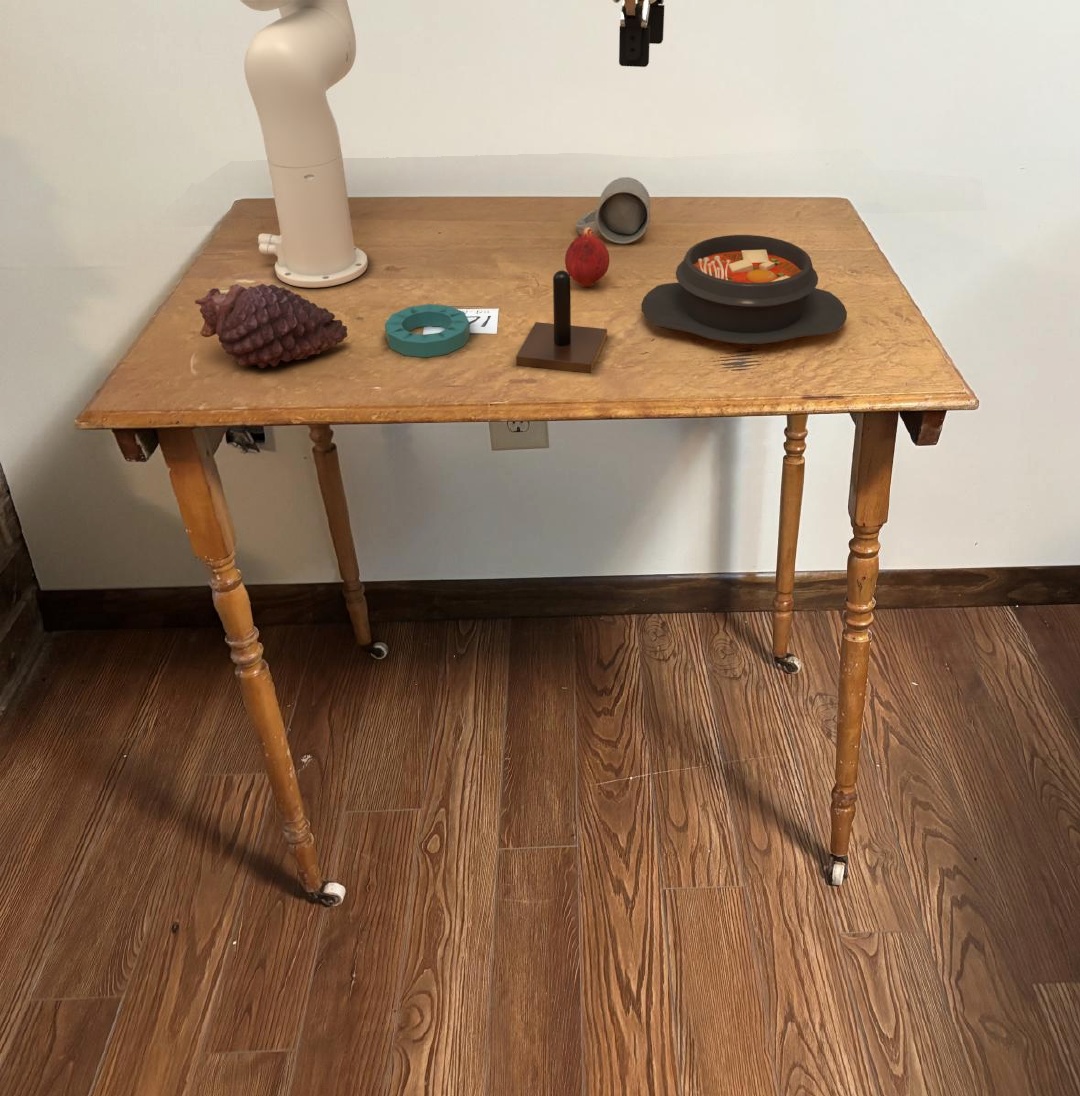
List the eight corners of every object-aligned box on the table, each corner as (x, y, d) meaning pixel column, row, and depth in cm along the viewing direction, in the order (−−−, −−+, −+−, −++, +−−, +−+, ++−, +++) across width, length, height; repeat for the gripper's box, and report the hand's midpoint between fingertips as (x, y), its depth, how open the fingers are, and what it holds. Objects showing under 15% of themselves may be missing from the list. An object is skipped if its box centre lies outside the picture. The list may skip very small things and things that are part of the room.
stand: (516, 365, 129) (513, 284, 123) (535, 330, 136) (533, 252, 130) (591, 373, 127) (591, 291, 121) (606, 337, 134) (608, 258, 128)
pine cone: (344, 326, 138) (355, 279, 129) (339, 394, 134) (351, 351, 125) (197, 303, 133) (198, 253, 124) (188, 374, 129) (189, 327, 120)
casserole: (635, 353, 131) (638, 287, 125) (645, 286, 145) (647, 224, 140) (850, 363, 128) (862, 296, 122) (838, 293, 142) (848, 231, 137)
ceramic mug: (650, 222, 162) (651, 170, 157) (649, 244, 156) (650, 191, 151) (578, 222, 163) (577, 171, 158) (574, 245, 156) (573, 191, 152)
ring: (375, 352, 132) (373, 337, 131) (404, 315, 140) (402, 301, 139) (454, 360, 130) (453, 345, 129) (479, 323, 138) (478, 308, 137)
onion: (605, 298, 143) (606, 239, 138) (561, 295, 144) (560, 236, 139) (611, 279, 147) (613, 221, 142) (569, 276, 148) (569, 218, 143)
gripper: (626, -135, 120) (623, 33, 131) (593, -111, 107) (593, 74, 118) (694, -135, 119) (685, 36, 129) (670, -111, 105) (662, 77, 116)
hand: (641, 54), depth 123 cm, fingers open, 9 cm apart
